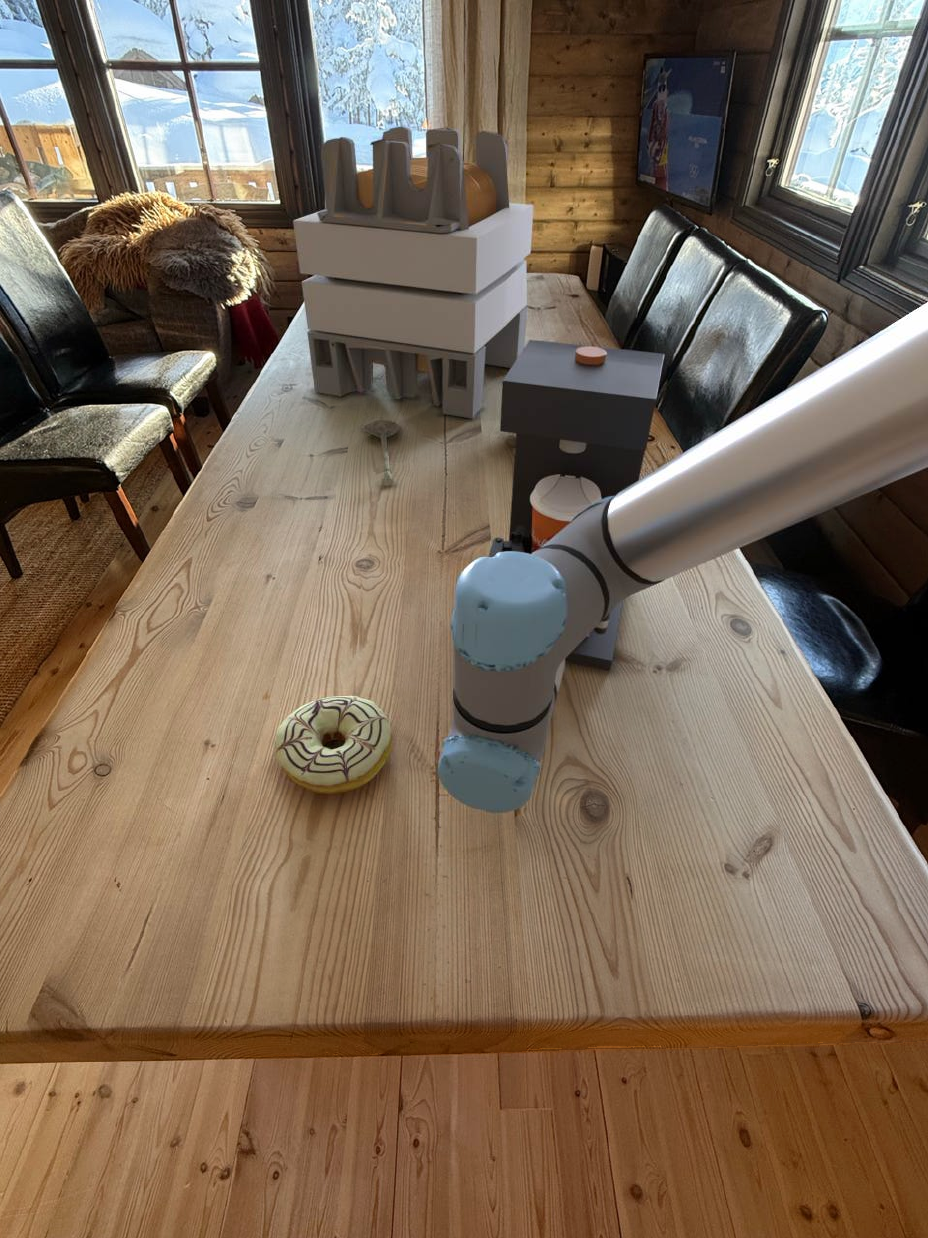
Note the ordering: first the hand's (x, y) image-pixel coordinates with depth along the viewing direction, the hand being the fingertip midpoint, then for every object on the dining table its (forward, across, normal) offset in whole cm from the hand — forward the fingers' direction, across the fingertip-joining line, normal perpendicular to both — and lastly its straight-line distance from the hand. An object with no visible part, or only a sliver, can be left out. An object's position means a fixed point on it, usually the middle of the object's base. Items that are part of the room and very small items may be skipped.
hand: (567, 522), depth 77 cm
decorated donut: (-32, -16, -10) cm, 37 cm away
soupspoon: (+27, -34, -10) cm, 45 cm away
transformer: (+62, -39, -10) cm, 74 cm away
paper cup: (-5, 0, -7) cm, 9 cm away
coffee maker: (-5, 0, -10) cm, 11 cm away
